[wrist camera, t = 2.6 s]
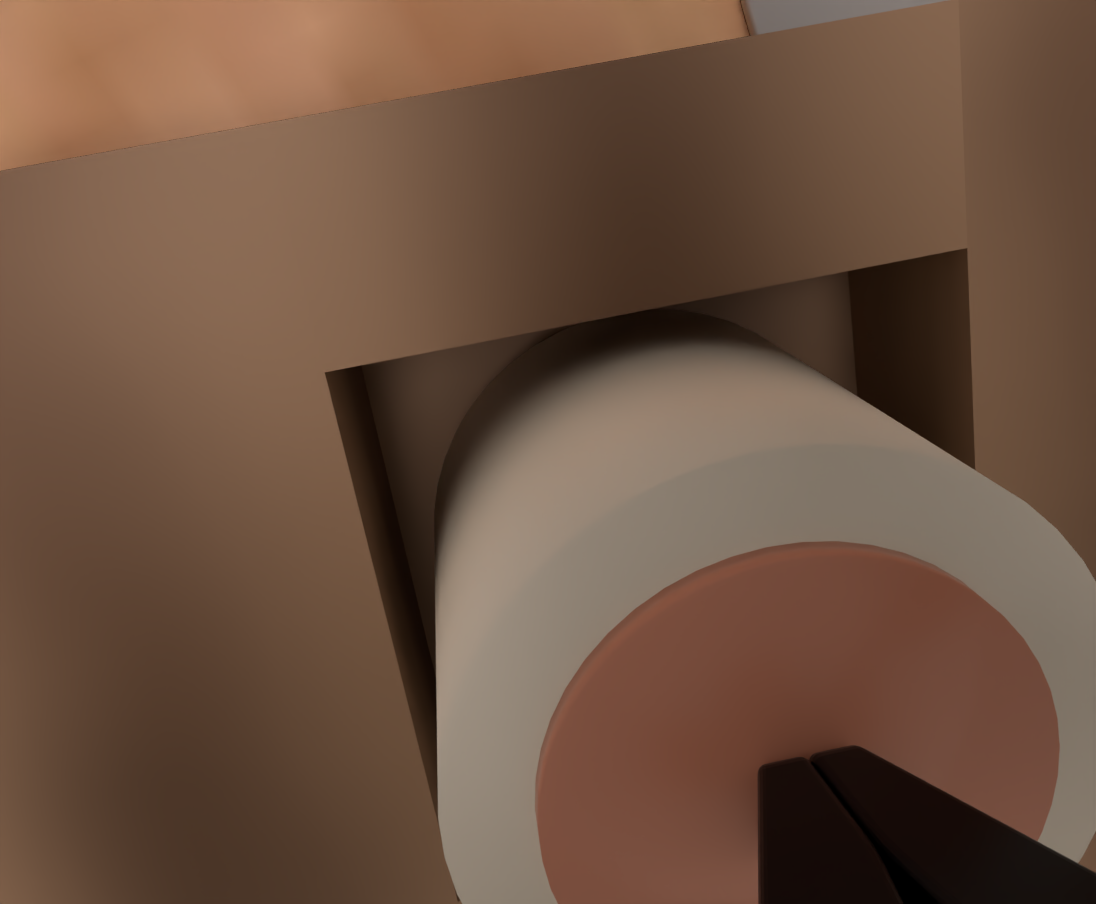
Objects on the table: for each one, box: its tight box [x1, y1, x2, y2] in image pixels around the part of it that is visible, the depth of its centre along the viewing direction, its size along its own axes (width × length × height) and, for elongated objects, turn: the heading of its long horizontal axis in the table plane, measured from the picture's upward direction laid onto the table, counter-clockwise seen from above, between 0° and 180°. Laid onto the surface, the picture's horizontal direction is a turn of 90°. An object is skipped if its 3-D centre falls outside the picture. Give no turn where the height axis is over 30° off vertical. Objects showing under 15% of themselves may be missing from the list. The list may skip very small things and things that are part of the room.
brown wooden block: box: [0, 0, 1096, 904], centre depth 14 cm, size 18×12×4 cm, turn 100°
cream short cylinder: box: [434, 309, 1096, 904], centre depth 11 cm, size 6×6×6 cm
